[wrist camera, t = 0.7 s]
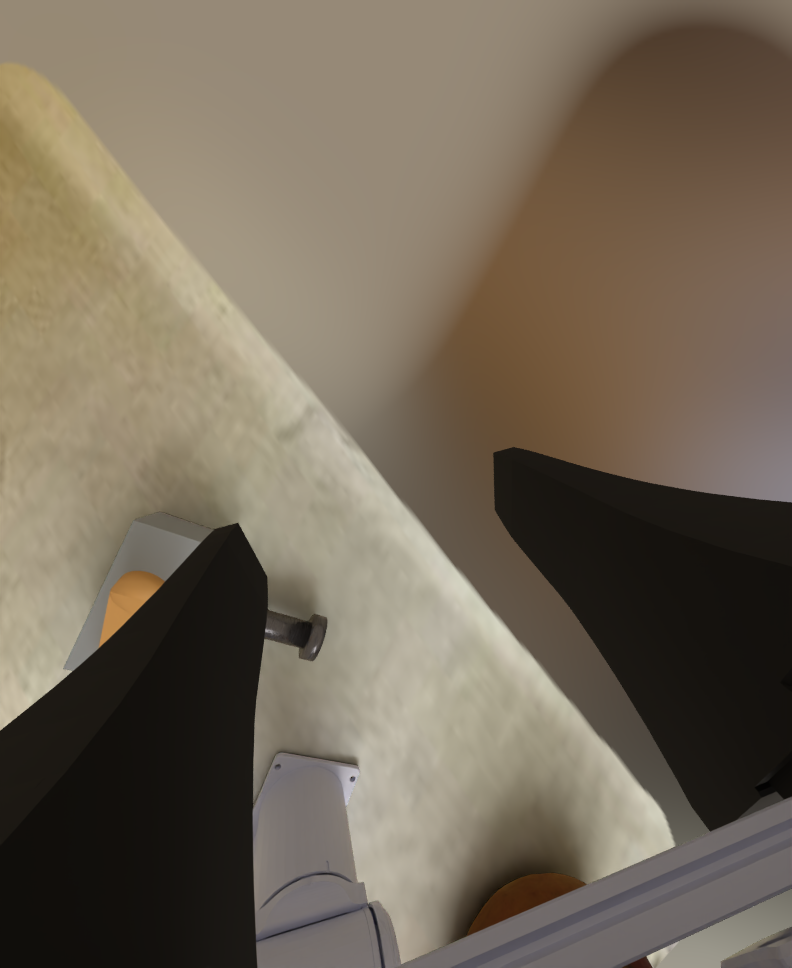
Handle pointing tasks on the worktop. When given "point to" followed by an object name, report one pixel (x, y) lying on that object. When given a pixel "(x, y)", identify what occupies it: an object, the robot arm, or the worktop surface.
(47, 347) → the worktop surface
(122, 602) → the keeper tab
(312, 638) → the pin
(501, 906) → the brown clay vase
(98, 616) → the block
